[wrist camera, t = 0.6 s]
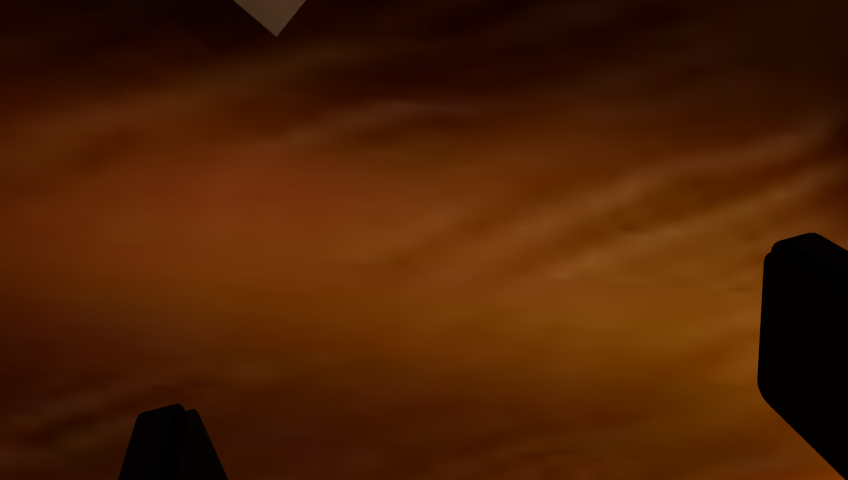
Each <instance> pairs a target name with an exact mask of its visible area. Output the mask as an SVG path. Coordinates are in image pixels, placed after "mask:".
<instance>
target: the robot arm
mask: <svg viewBox="0 0 848 480" xmlns="http://www.w3.org/2000/svg"><path fill="white" fill-rule="evenodd" d="M757 381H758V387H759V390H760V393H761V395H762V396H763V398H764V400H765V401H766V402H767V403H768V404H769V405H770V406H771V407H772V408H773V409H774V410H775V411H776V412H777V413H778V414H779V415H780V416H781V417H782V418H783V419H784V420H785V421H786V422H787V423H788V424H789V425H790V426H791V427H792V428H793V429H794V430H795V431H796V432H797V433H798V434H799V435H800V436H801V437H802V438H803V439H804V440H805V441H806V442H807V443H808V444H809V445H810V446H811V447H812V448H814V449H815V450H816V451H817V452H818V453H819V454H820V455H821V456H822V457H823V458H824V459H825V460H826V461H827V462H828V463H829V464H830V465H831V466H832V467H833V468H834V469H835V470H836V471H837V472H838V473H839V474H840V475H841V476H842V477H843V478H844V479H845V480H848V251H847V250H845V249H844V248H842V247H840V246H838V245H837V244H835V243H833V242H831V241H830V240H828V239H826V238H824V237H823V236H821V235H819V234H816V233H806V234H803V235H799V236H795V237H792V238H788V239H784V240H781V241H778V242H776V243H775V244H774V245H773V247H772V250H771V252H770V253H768V254H767V255H766V257H765V260H764V270H763V288H762V306H761V324H760V342H759V360H758V377H757ZM118 480H228V478H227V476H226V474H225V471H224V469H223V467H222V465H221V462H220V460H219V458H218V456H217V454H216V451H215V449H214V447H213V445H212V442H211V440H210V438H209V436H208V433H207V431H206V429H205V427H204V425H203V422H202V420H201V418H200V416H199V414H198V412H197V411H196V410H195V409H191V410H188V411H185V409H184V408H183V407H182V406H181V404H173V405H169V406H166V407H162V408H158V409H155V410H151V411H147V412H143V413H141V414H140V415H139V416H138V418H137V420H136V423H135V426H134V429H133V432H132V436H131V439H130V442H129V446H128V449H127V452H126V455H125V459H124V462H123V465H122V468H121V472H120V475H119V478H118Z"/></svg>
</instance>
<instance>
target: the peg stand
mask: <svg viewBox="0 0 848 480" xmlns="http://www.w3.org/2000/svg"><path fill="white" fill-rule="evenodd" d="M234 1H235V2H236V3H237V4H238V5H239V6H241V7H242V8H243V9H244V10H245V11H247V12H248V13H249V14H250V15H251V16H253V17H254V18H255V19H256V20H257V21H258V22H260V23H261V24H262V25H263V26H264V27H266V28H267V29H268V30H269V31H270V32H272V33H273V34H274V35H275V36H276V37H277V35H278V34H279V33H280V32H281V31H282V29H283V28H284V27H285V26H286V24H287V23H288V22H289V21H290V19H291V18H292V17H293V16H294V14H295V13H296V12H297V11H298V9H299V8H300V7H301V6H302V4H303V3H304V2H305V1H306V0H234Z"/></svg>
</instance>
